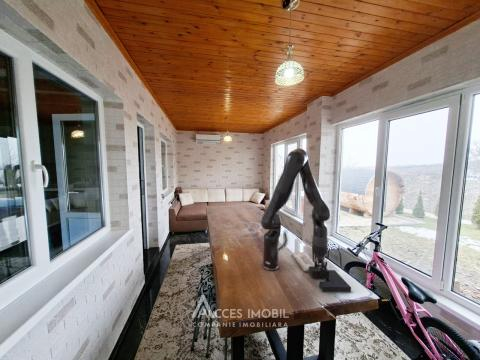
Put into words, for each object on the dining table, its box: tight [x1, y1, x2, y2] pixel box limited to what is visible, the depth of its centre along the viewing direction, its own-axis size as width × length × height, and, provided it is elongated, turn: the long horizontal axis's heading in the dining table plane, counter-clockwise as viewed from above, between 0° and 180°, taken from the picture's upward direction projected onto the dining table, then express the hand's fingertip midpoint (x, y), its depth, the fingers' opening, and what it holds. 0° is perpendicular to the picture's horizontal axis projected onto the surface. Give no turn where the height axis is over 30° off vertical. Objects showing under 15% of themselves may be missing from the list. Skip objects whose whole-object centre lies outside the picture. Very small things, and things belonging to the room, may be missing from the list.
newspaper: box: [291, 251, 321, 273], centre depth 125 cm, size 23×12×2 cm, turn 4°
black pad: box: [308, 266, 329, 279], centre depth 102 cm, size 5×9×4 cm, turn 90°
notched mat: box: [318, 269, 352, 293], centre depth 103 cm, size 16×14×2 cm
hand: (318, 274), depth 103 cm, fingers closed on black pad, 5 cm apart
